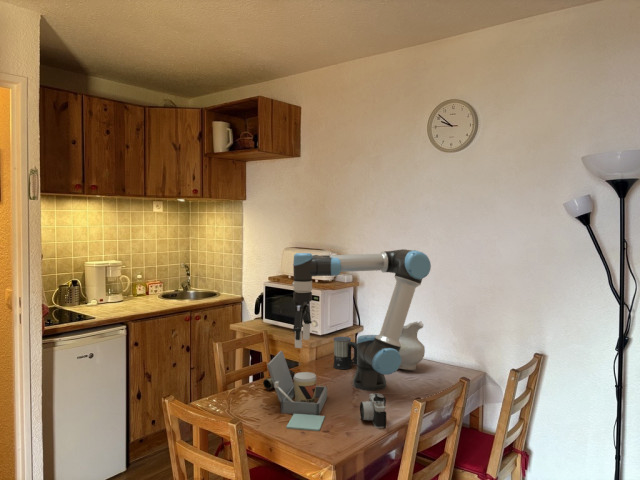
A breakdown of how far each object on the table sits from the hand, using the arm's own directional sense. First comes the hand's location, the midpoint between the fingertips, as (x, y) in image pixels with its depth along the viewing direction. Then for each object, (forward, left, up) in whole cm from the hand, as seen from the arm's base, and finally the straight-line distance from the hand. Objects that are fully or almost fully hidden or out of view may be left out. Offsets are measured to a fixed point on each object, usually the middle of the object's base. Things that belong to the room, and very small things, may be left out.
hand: (302, 343), depth 192 cm
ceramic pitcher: (-40, -58, -25) cm, 75 cm away
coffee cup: (-1, +1, -25) cm, 25 cm away
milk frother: (-12, -56, -25) cm, 62 cm away
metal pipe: (+17, -14, -27) cm, 35 cm away
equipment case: (-1, +1, -25) cm, 25 cm away
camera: (-29, +11, -25) cm, 40 cm away
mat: (-5, +18, -25) cm, 31 cm away
